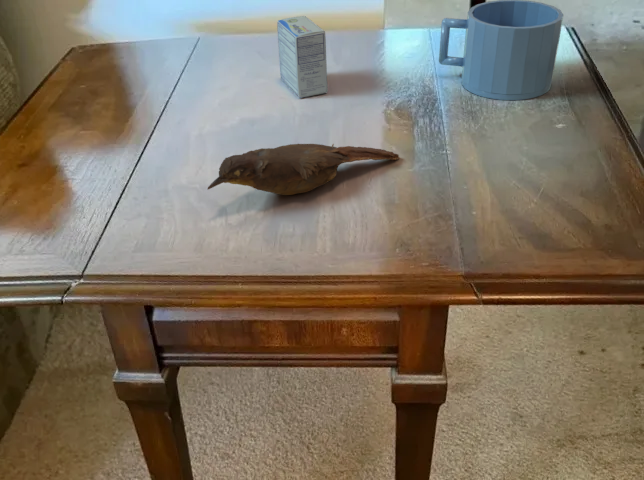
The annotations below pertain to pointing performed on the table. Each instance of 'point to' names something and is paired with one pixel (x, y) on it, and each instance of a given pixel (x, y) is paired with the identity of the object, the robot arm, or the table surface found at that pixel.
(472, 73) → the mug
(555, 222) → the table surface
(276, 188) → the bird sculpture
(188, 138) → the table surface
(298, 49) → the medicine box
